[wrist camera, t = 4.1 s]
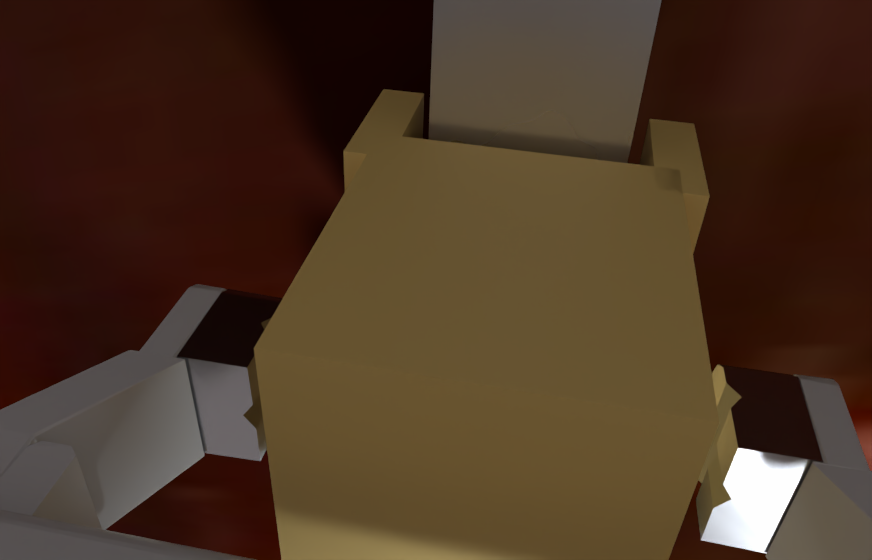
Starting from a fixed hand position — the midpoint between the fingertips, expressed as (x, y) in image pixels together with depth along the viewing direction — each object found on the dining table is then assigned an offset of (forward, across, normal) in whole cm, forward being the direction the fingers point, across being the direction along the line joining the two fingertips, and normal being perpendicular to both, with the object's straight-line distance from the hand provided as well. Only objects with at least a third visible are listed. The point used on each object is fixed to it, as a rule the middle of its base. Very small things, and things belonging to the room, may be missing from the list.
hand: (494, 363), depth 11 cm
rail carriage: (+4, 0, 0) cm, 4 cm away
